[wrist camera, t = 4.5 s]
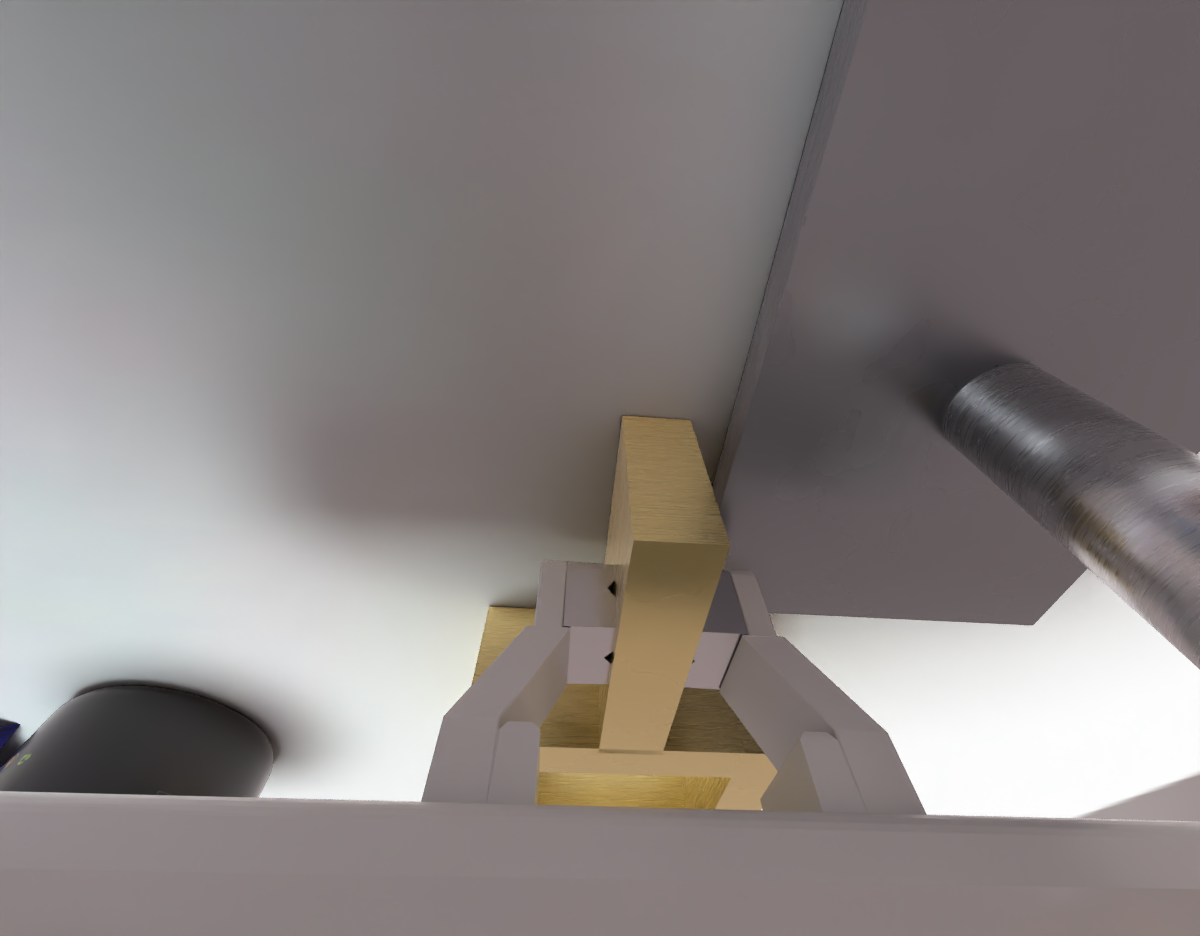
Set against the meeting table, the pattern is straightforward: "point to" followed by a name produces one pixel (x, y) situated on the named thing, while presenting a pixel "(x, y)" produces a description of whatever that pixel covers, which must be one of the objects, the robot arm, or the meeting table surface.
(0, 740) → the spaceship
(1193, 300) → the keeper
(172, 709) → the supplement bottle
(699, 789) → the wooden frame
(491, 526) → the meeting table surface
